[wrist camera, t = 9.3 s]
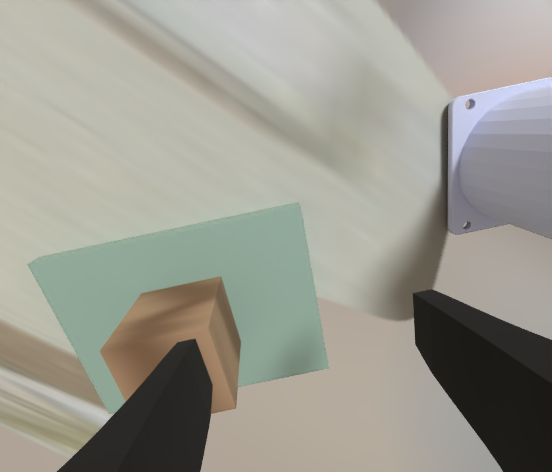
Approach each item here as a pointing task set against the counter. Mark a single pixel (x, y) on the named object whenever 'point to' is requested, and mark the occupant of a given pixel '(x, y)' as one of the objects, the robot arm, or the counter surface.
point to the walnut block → (178, 337)
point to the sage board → (190, 268)
